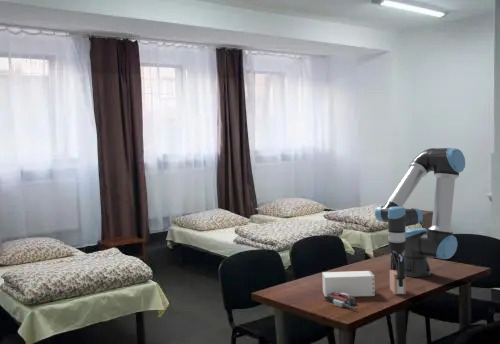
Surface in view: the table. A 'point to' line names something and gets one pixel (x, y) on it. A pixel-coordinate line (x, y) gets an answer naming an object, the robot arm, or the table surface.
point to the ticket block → (349, 283)
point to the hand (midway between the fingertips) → (397, 290)
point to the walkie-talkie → (341, 299)
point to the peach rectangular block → (395, 282)
